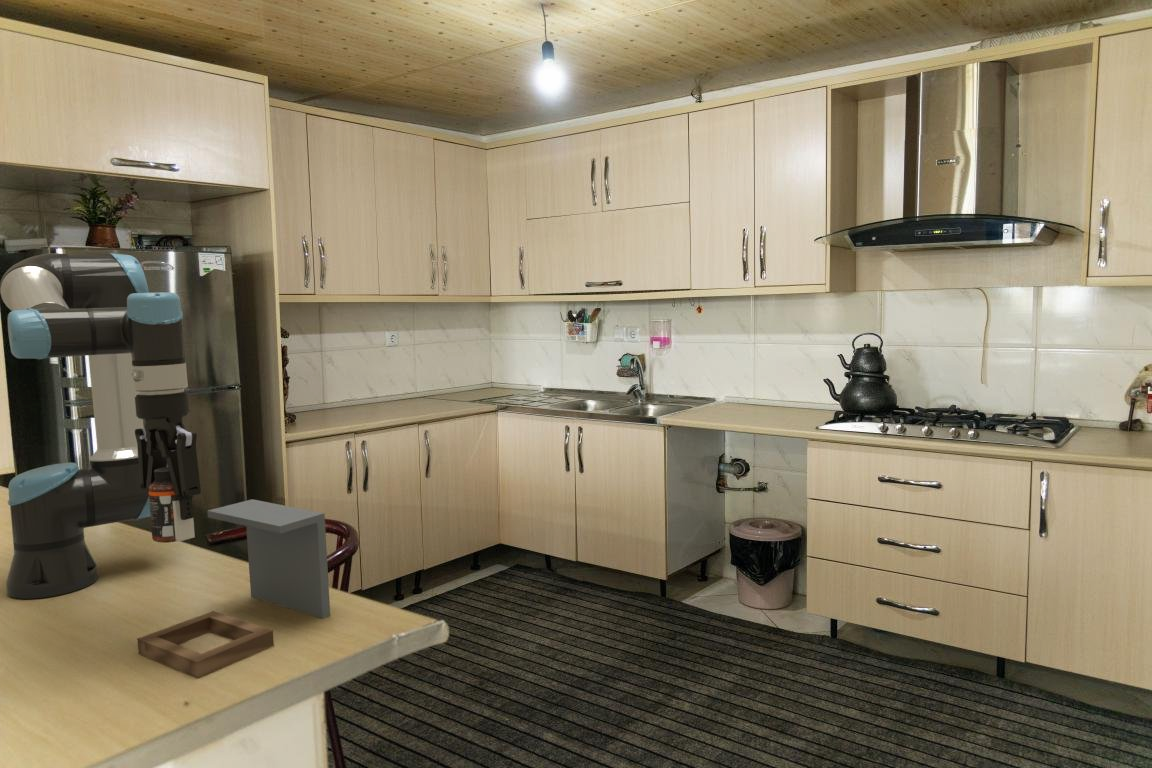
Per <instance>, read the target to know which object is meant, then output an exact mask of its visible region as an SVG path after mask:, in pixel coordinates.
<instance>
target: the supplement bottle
mask: <svg viewBox="0 0 1152 768" xmlns="http://www.w3.org/2000/svg"><path fill="white" fill-rule="evenodd" d="M154 478H155V480H154V482H153V483H152V484H151V485H150V486H149V503H150V516H149V517H150V527H151V538H152V541H154V542H156V543H165V544H166V543H175V542H177V541H176V538H175V526H174V514H173V502H172V500H171V498H173V497H175V493H174V489H173V485H172V481H171V477H170V473H169V469H168V466H167V467H163V468H158V469H155V470H154Z"/></svg>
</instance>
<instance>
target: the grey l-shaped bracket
mask: <svg viewBox="0 0 1152 768" xmlns="http://www.w3.org/2000/svg"><path fill="white" fill-rule="evenodd" d="M206 513H207V518H208V519H209V518H210V519H215V520H218V521H222V522H223V521H224V522H227V523H232V524H237V525H240V526H246V543H247V555H248V556H247V557H248V570H249V571H248V572H249V573H248V574H249V585H250V597H251V598H254V599H257V600H260V601H264V602H267V603H270V604H274V605H277V606H281V607H284V608H287V609H290V610H294V611H298V612H301V613H303V614H307V615H310V616H314V617H317V618H321V619H325V618H327V617H330V616H331V607H330V606H331V605H330V604H331V603H330V589H329V588H330V587H329V572H328V571H329V570H328V566H329V565H328V555H327V554H328V552H327V550H328V549H327V534H326V520H325V519H326V516H325V512H320V511H315V510H311V509H310V510H309V509H304V508H299V507H294V506H288V505H284V504H278V503H273V502H268V501H263V500H258V499H253V498H252V499H248V500H244V501H239V502H237V503H233V504H228V505H224V506H220V507H216V508H212V509H208V510H207V512H206Z"/></svg>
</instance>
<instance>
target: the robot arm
mask: <svg viewBox="0 0 1152 768" xmlns="http://www.w3.org/2000/svg"><path fill="white" fill-rule="evenodd" d="M0 297H1V300H2V302H3V303H4V304H5V306H6V307H7V308H8V309H9V310H10V312H9V313H8V314H7V332H8V340H9V347H10V353H11V355H13V357H15V358H16V359H36V360H43V359H51V358H53V359H54V358H68V357H69V358H70V357H83V356H84V357H85V356H87V357H88V364H89V365H88V367H89V374H90V375H89V376H90V386H91V396H92V405H93V408H92V409H93V416H94V417H93V418H94V428H95V438H96V447H97V448H96V451H95V452H94V453H93V454H92V455H91V456H90V457H89V467H88V468H80V467H79V466H78V464H77V463H76V462H63V463H53V464H49V465H45V466H41V467H40V466H39V467H36V468H33V469H30V470H27V471H24V472H22V473H18V475H16V476H14V477H13V478H12V479H10V481H9V483H8V501H7V505H8V506H9V508H10V520H11V531H12V541H13V542H12V543H13V557H12V560H11V564H10V568H9V571H8V575H7V578H6V581H5V582H6V584H5V585H6V593H7V595H8V596H9V597H10V598H13V599H19V600H21V599H23V600H25V599H27V600H29V599H31V600H33V599H41V598H49V597H54V596H60V595H64V594H68V593H72V592H76V591H78V590H81V589H84V588H86V587H88V586H90V585H92V584H94V583H95V582H96V581H98V579H99V571H98V565H97V564H96V561H95V559H94V558H93V555H92V553H91V551H90V549H89V547H88V545H87V543H86V541H85V540H86V539H85V534H84V533H85V530H84V529H86V528H90V527H91V528H92V527H97V526H103V525H107V524H113V523H119V522H125V521H126V522H127V521H132V520H133V521H139V519H145V518H148V517H150V503H149V486H150V485H151V484H152V483H153V482H154V480H155V478H154V470H155V469H158V468H163V467H168V469H169V473H170V477H171V481H172V485H173V489H174V493H175V497H173V498H171V500H172V502H173V514H174V526H175V538H176V542H177V543H178V542H183V541H187V540H190V539H193V538H195V537H196V536H195V521H194V508H193V507H194V506H193V498H194V497H195V496H197V495H200V494H201V492H202V488H201V480H200V472H199V463H198V453H197V436H198V435H197V432H196V431H188V430H186V428H185V424H184V421H183V417H184V416H188V415H189V414H190V413H191V412H190V411H191V410H190V399H189V393H188V392H187V391H185V389H187V388H188V387H189V385H188V383H189V382H188V373H187V370H188V369H187V362H186V354H185V353H186V351H185V350H186V349H185V337H184V325H183V324H184V323H183V317H184V312H183V310H182V303H181V298H180V296H179V295H178V293H176V292H168V291H167V292H166V291H165V292H163V291H161V292H149V287H148V282H147V278H146V275H145V272H144V269H143V267H142V265H141V263H140V261H139V260H138V259H137V258H136V257H134V256H133V255H130V254H121V253H111V252H109V253H58V252H54V253H53V252H51V253H42V254H38V255H33V256H31V257H27V258H25V259H23V260H21V261H19V262H16V263H15V264H13V265H12V266H11V267H9V268H8V269H7V271H5V273H4V274H3V275H2V276H1V280H0ZM144 420H145V424H144Z"/></svg>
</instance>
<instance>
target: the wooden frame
mask: <svg viewBox="0 0 1152 768" xmlns="http://www.w3.org/2000/svg"><path fill="white" fill-rule="evenodd" d="M208 633H213V634H215V635H219V636H222V637H225V638H228V639H230V640H232V641H229V642H226V643H224V644H222V645H219V646H217V647H215V648H212V649H210V650H207V651H205V652H202V653H201V652H198V651H195V650H192V649H190V648H187V647H184V646H182V645H181V644H182V643H184V642H188V641H190V640H192V639H194V638H195V639H196V638H199V637H200V636H203V635H205V634H208ZM136 639H137V649H138V650H137V651H138V655H140V654H141V655H140V656H142V655H143V656H142V657H145V658H147V657H148V659H150V660H152V661H155V662H157V663H159V662H160V664H162V665H165V666H167V667H169V668H172V669H175V670H177V671H178V672H179V671H180V672H181V673H184V674H187V675H189V676H192V677H195V678H197V679H199V678H202V677H204V676H207V675H209V674H211V673H214V672H216V671H218V670H221V669H222V668H225V667H227V666H229V665H232V664H234V663H236V662H239V661H241V660H243V659H247V658H248V657H251V656H253V655H255V654H257V653H259V652H262V651H264V650H267V649H269V648H271V647H274V645H275V643H274V642H275V641H274V631H273V629H270V628H267V627H264V626H261V625H259V624H255V623H252V622H250V621H249V622H248V621H245V620H242V619H239V618H236V617H233V616H230V615H227V614H224V613H220V612H217V611H214V610H212V611H209V612H206V613H203V614H201V615H198V616H196V617H193V618H189V619H187V620H184V621H182V622H179V623H176V624H173V625H171V626H168V627H165V628H162V629H160V630H157V631H154V632H152V633H149V634H147V635H143V636H140V637H138V638H136Z"/></svg>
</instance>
